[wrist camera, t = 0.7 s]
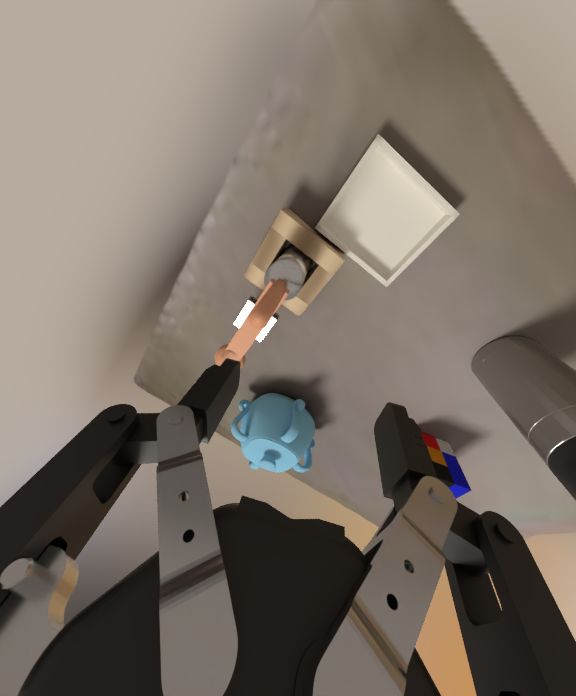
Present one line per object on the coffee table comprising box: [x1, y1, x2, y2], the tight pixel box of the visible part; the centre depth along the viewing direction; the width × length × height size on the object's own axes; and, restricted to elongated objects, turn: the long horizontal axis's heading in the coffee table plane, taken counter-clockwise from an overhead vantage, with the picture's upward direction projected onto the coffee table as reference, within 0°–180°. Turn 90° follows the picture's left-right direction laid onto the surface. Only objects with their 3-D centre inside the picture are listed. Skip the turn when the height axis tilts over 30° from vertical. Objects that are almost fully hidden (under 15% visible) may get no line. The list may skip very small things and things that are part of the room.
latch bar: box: [215, 278, 290, 370], centre depth 26 cm, size 4×16×9 cm, turn 145°
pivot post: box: [230, 299, 278, 342], centre depth 38 cm, size 6×6×11 cm
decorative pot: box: [231, 393, 315, 472], centre depth 49 cm, size 16×16×14 cm
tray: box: [315, 134, 460, 287], centre depth 30 cm, size 13×11×2 cm
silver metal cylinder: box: [264, 246, 311, 301], centre depth 31 cm, size 4×4×11 cm
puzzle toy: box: [421, 432, 471, 498], centre depth 49 cm, size 10×10×10 cm
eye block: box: [244, 209, 344, 316], centre depth 33 cm, size 10×10×5 cm
